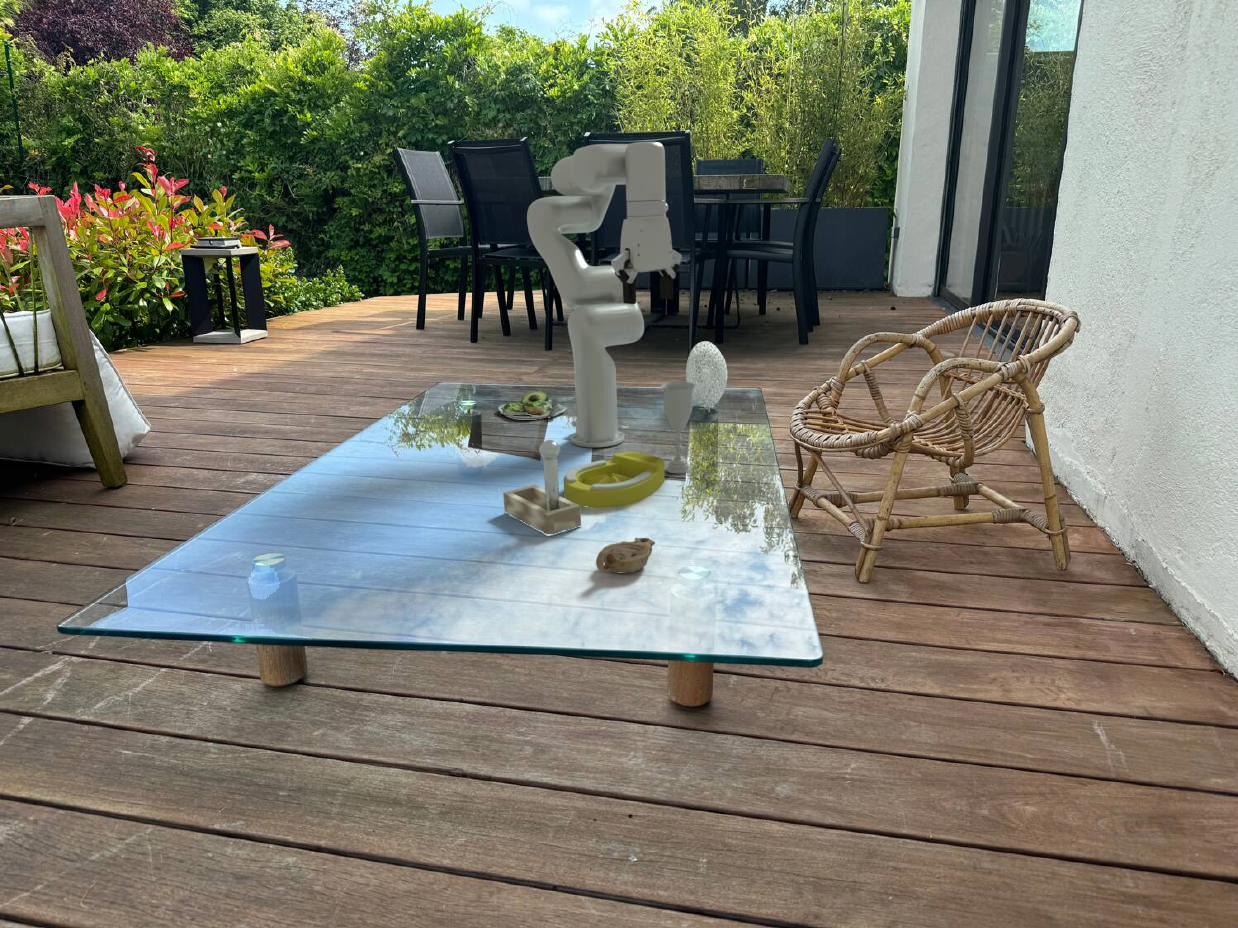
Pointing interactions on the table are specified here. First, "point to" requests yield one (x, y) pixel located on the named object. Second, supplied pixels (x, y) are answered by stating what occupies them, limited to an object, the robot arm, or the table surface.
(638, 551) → the oil lamp
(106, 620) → the table surface
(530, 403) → the salad plate
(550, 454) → the silver metal pin
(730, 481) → the table surface
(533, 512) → the link
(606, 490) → the yellow-green spoked oval frame
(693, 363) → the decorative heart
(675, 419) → the chalice
